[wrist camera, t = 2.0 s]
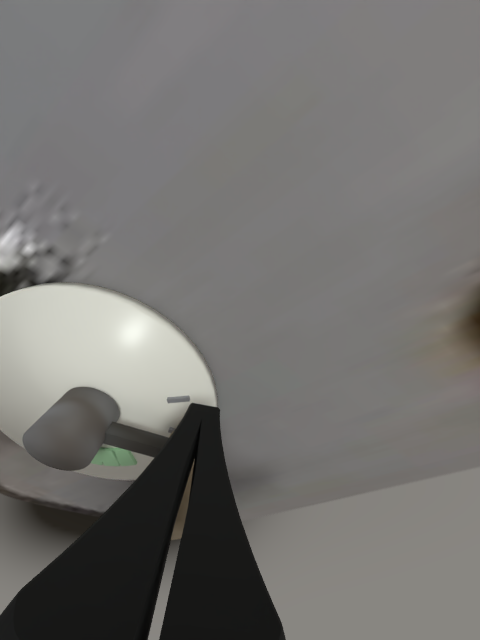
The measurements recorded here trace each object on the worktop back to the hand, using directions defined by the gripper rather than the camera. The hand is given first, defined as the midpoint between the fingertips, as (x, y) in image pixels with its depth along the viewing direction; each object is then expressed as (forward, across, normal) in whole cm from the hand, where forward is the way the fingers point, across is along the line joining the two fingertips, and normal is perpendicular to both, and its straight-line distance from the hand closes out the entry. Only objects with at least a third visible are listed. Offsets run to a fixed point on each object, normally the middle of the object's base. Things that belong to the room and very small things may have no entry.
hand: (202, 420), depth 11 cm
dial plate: (+4, +7, +4) cm, 9 cm away
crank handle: (+3, +4, +4) cm, 7 cm away
